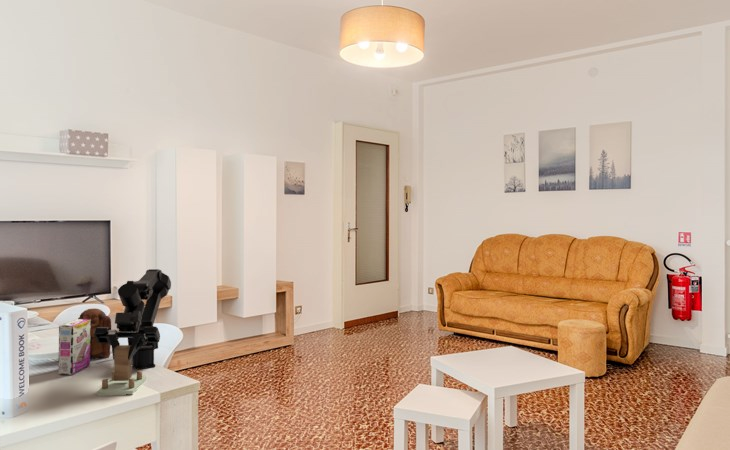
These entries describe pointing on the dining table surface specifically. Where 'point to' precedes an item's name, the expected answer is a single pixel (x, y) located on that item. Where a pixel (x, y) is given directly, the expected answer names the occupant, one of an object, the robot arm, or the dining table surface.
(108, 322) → the wooden figurine
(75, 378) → the dining table surface
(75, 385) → the dining table surface
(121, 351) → the brown wooden block
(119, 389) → the peg stand
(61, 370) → the candy bar box
